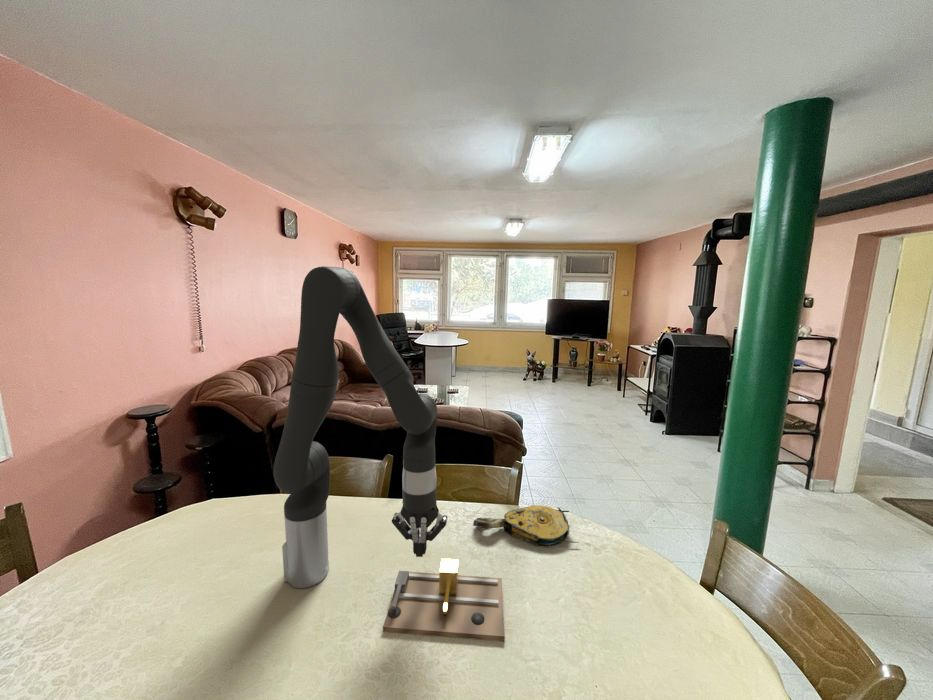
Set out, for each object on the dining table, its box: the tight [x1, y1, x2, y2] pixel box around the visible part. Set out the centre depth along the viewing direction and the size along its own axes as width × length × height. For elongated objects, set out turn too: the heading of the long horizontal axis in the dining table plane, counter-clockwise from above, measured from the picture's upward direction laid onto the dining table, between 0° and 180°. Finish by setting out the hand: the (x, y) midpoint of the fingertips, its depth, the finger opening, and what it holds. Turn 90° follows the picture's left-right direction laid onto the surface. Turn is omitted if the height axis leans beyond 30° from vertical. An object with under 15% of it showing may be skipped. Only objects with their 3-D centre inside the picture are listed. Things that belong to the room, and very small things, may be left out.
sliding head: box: [438, 558, 460, 616], centre depth 80 cm, size 4×10×6 cm, turn 177°
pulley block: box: [472, 505, 579, 548], centre depth 107 cm, size 14×6×30 cm
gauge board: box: [382, 570, 506, 642], centre depth 81 cm, size 25×15×4 cm, turn 87°
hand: (420, 554), depth 82 cm, fingers closed
